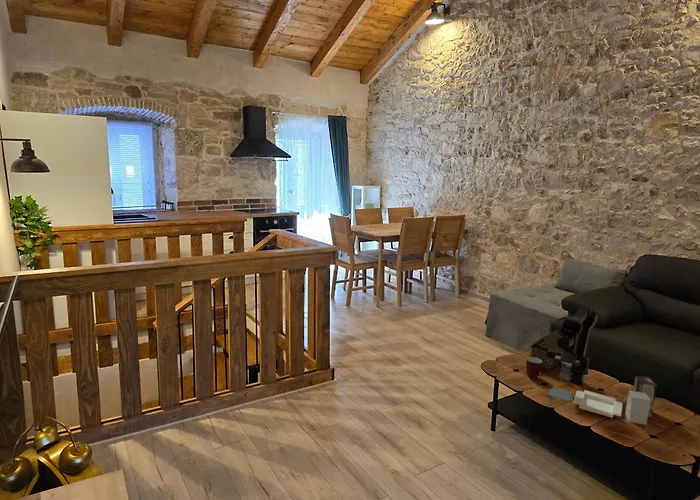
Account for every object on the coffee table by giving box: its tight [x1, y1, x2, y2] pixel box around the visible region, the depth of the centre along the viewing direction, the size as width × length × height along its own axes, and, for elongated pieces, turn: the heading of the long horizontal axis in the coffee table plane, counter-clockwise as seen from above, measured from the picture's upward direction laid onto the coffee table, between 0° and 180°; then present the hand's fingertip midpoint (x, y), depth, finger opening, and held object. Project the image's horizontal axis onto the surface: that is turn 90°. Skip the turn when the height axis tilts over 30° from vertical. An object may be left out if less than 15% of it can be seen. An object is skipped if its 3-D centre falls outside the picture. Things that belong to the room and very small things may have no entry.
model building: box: [529, 330, 563, 374], centre depth 269 cm, size 18×14×20 cm
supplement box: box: [624, 390, 651, 426], centre depth 215 cm, size 7×7×13 cm
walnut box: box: [559, 362, 572, 382], centre depth 233 cm, size 8×4×6 cm, turn 149°
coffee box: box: [632, 375, 658, 418], centre depth 222 cm, size 9×6×16 cm
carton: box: [572, 389, 624, 419], centre depth 226 cm, size 21×20×2 cm
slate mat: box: [547, 386, 573, 402], centre depth 236 cm, size 10×10×1 cm
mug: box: [525, 356, 545, 380], centre depth 253 cm, size 10×8×10 cm
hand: (565, 372), depth 233 cm, fingers closed on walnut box, 4 cm apart
